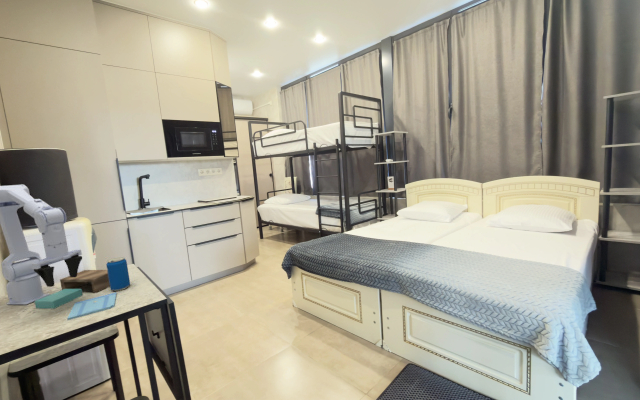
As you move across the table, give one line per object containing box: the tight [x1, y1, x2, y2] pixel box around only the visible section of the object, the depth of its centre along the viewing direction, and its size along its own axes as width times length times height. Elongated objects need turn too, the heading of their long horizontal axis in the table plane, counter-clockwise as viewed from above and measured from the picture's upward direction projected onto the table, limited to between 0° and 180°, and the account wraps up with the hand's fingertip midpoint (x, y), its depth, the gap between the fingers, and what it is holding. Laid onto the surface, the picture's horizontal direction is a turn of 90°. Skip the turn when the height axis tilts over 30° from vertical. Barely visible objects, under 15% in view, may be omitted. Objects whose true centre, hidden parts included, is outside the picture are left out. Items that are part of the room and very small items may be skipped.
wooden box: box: [59, 269, 110, 294], centre depth 114 cm, size 16×10×6 cm, turn 81°
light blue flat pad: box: [67, 291, 117, 321], centre depth 97 cm, size 14×12×1 cm
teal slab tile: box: [34, 288, 84, 310], centre depth 103 cm, size 8×10×3 cm
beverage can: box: [105, 256, 131, 292], centre depth 110 cm, size 6×6×12 cm
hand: (62, 281), depth 97 cm, fingers open, 7 cm apart
